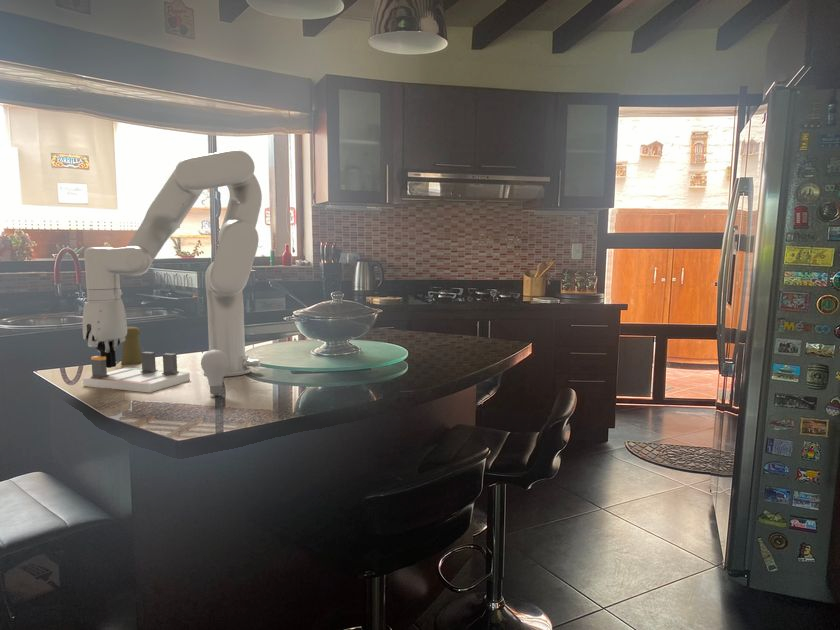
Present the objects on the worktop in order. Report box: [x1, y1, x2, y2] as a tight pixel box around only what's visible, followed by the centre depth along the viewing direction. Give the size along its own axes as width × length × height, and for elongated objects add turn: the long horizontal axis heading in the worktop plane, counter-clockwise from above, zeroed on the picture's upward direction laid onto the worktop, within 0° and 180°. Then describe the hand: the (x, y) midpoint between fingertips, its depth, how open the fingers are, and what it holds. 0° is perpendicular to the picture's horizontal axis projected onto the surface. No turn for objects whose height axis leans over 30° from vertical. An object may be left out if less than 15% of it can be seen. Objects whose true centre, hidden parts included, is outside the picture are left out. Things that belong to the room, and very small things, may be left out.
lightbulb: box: [200, 350, 229, 397], centre depth 138 cm, size 6×6×11 cm
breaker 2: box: [162, 352, 180, 375], centre depth 153 cm, size 3×3×5 cm
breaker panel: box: [82, 367, 191, 393], centre depth 152 cm, size 14×21×2 cm, turn 71°
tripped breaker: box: [89, 355, 109, 378], centre depth 149 cm, size 3×3×5 cm
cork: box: [120, 326, 142, 366], centre depth 178 cm, size 6×6×11 cm
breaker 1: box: [140, 351, 158, 373], centre depth 155 cm, size 3×3×5 cm
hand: (108, 366), depth 152 cm, fingers closed
